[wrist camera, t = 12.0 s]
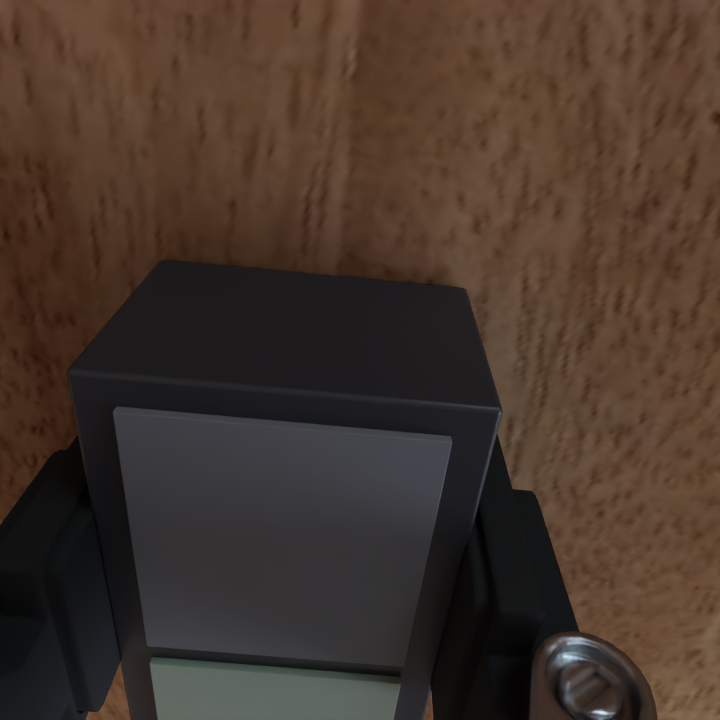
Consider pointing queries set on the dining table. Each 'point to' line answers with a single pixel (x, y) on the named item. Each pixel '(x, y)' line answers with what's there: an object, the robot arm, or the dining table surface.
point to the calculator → (283, 487)
